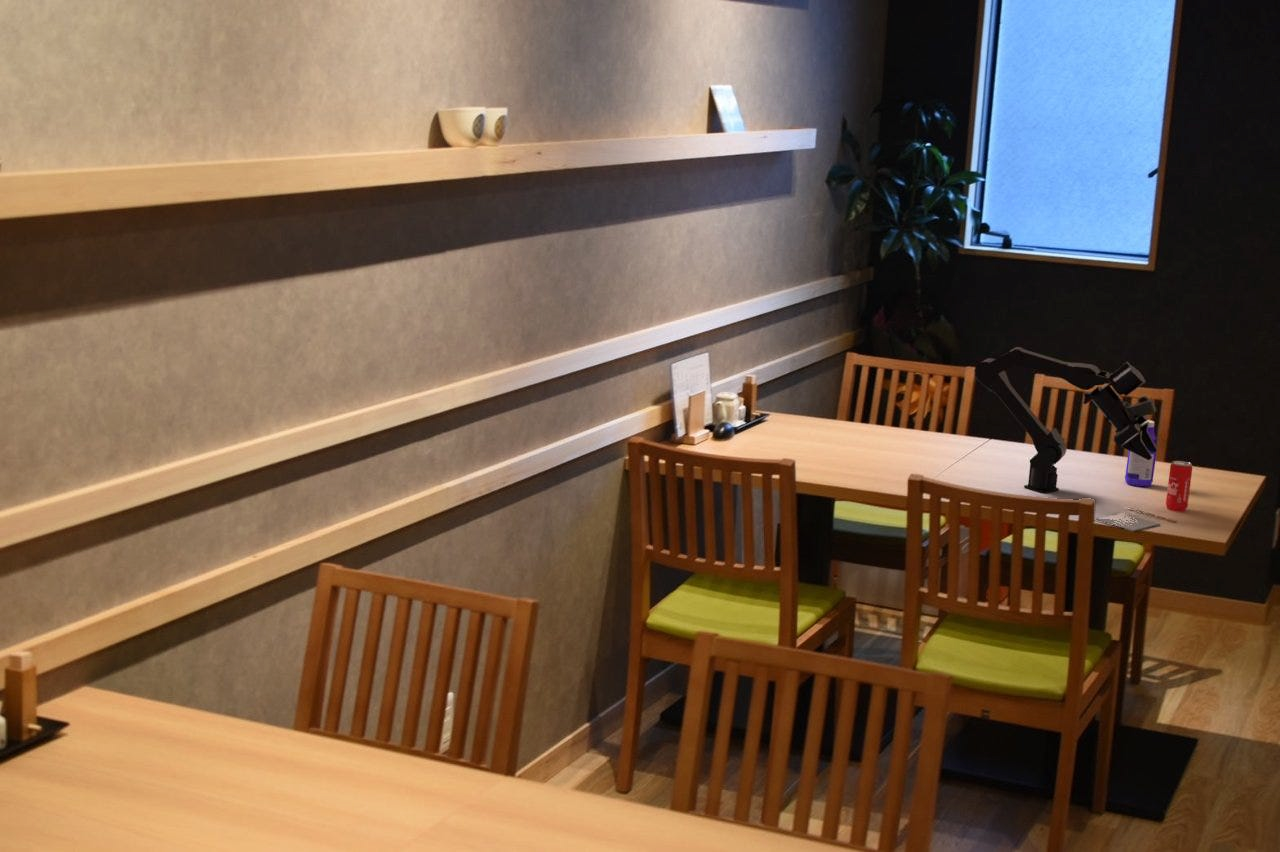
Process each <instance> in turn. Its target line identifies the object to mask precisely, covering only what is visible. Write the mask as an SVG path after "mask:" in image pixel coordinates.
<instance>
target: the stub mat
mask: <svg viewBox="0 0 1280 852" xmlns="http://www.w3.org/2000/svg"><path fill="white" fill-rule="evenodd" d="M1126 514H1127V513H1125V515H1126ZM1128 515H1130V516H1132V517H1131V518H1130V519H1132V520H1134V521H1132V520H1130V521H1132V522H1134V523H1131V522H1129V521H1128V520H1126V521H1128V522H1129V523H1127V522H1125V524H1123V523H1122V522H1124V521H1122V520H1121V519H1119V520H1121V521H1122V522H1120V521H1117V520H1113V519H1112V520H1110V519H1099V517H1095V518H1096V520H1098V521H1102V522H1105V523H1109V524H1113V523H1116V522H1114V521H1117V522H1120V523H1121V524H1122V525H1124V526H1122V525H1121V524H1119V523H1116V524H1117V526H1120V527H1122V528H1124V529H1123V530H1125V531H1129V532H1131V533H1134V532H1138V531H1141V530H1140V529H1142V530H1145V529H1144V528H1147V529H1149V528H1148V527H1151V528H1153V527H1152V526H1155V527H1159V526H1161V523H1160V522H1156V521H1152V520H1149V519H1145V518H1143V517H1139V516H1136V515H1131V514H1128ZM1128 515H1127V516H1128ZM1130 516H1129V517H1130ZM1125 517H1126V516H1125ZM1125 517H1124V518H1125ZM1129 517H1128V518H1129ZM1133 517H1135V518H1134V519H1133ZM1135 519H1136V520H1137V522H1138V523H1137V522H1135V521H1136V520H1135ZM1098 521H1097V522H1098ZM1105 523H1104V524H1105ZM1116 524H1113V525H1116ZM1126 524H1127V525H1126ZM1130 524H1132V525H1130ZM1128 525H1129V526H1128ZM1158 525H1159V526H1158Z"/></svg>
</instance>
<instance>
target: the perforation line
mask: <svg viewBox="0 0 1280 852" xmlns="http://www.w3.org/2000/svg"><path fill="white" fill-rule="evenodd" d="M1128 507H1129V508H1131V509H1134V508H1133V507H1130V506H1128ZM1135 510H1136V511H1139V512H1141V513H1143V512H1144V513H1145V514H1148V515H1151V516H1154V517H1155V518H1156V519H1158V518H1159V520H1164V521H1165V520H1166V522H1170V523H1172V524H1175V523H1177V520H1175V519H1172V518H1167V519H1166V517H1164V516H1160V515H1157V516H1156V514H1154V513H1151V512H1145V511H1144V510H1140V509H1135ZM1141 513H1140V514H1141ZM1144 513H1143V514H1144ZM1148 515H1147V516H1148ZM1151 516H1150V517H1151Z"/></svg>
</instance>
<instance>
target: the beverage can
mask: <svg viewBox="0 0 1280 852" xmlns="http://www.w3.org/2000/svg"><path fill="white" fill-rule="evenodd" d="M1169 467H1170V468H1169V475H1168V482H1167V483H1168V485H1167V490H1166V498H1165V506H1166V510H1168V511H1171V512H1174V513H1175V512H1176V513H1184V512H1186V510H1187V508H1188V506H1189V497H1190V490H1191V482H1192V481H1191V480H1192V474H1193V464H1192V463H1191V462H1188V461H1183V460H1174V461H1171V464H1170V466H1169Z"/></svg>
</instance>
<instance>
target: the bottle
mask: <svg viewBox="0 0 1280 852" xmlns="http://www.w3.org/2000/svg"><path fill="white" fill-rule="evenodd" d="M1148 421H1149V424H1148V432H1149V435H1150V437H1151V439H1152V441H1153V443H1154V445H1155V447H1156V449H1157V444H1156V443H1155V441H1156V439H1157V437H1156V435H1155V421H1154V420H1150V419H1148V420H1147V421H1146V422H1144V423H1143V424H1145V423H1147V422H1148ZM1148 451H1149V450H1148ZM1157 451H1158V449H1157ZM1157 451H1156V452H1155V453H1153V452H1151V451H1149V453H1150V455H1151V456H1152V458H1151V459H1150V460H1147V459H1145V458H1143V457H1141V456H1139V455H1137V454H1135V453H1133V452H1131V451H1129V450H1128V453H1127V459H1126V467H1125V468H1126V469H1125V476H1124V479H1125V483H1126V484H1127V485H1129V486H1135V485H1136V487H1142V486H1145V488H1148V487H1150V486H1151V485H1152V483H1153V481H1154V475H1155V467H1156V466H1155V465H1156V461H1157Z"/></svg>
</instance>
